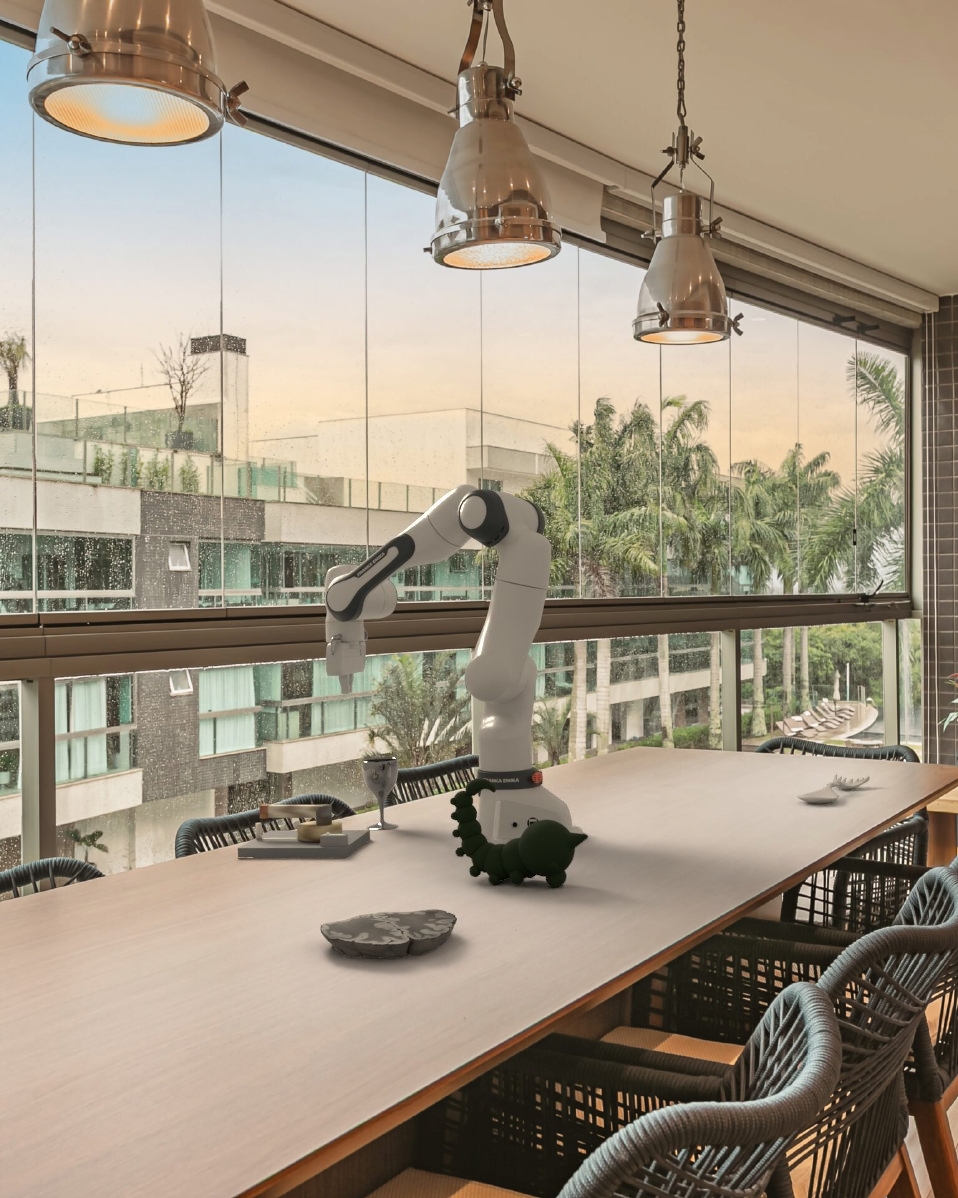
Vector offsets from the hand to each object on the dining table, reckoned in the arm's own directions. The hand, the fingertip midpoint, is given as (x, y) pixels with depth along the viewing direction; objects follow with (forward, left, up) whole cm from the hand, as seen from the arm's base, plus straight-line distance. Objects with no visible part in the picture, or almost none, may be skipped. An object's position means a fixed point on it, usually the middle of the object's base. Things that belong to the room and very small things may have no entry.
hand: (346, 693), depth 263 cm
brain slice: (-35, +99, -30) cm, 109 cm away
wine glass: (-10, +10, -29) cm, 33 cm away
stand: (0, +33, -29) cm, 44 cm away
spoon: (-111, -27, -30) cm, 118 cm away
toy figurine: (-48, +62, -29) cm, 84 cm away
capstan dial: (+1, +33, -27) cm, 42 cm away
